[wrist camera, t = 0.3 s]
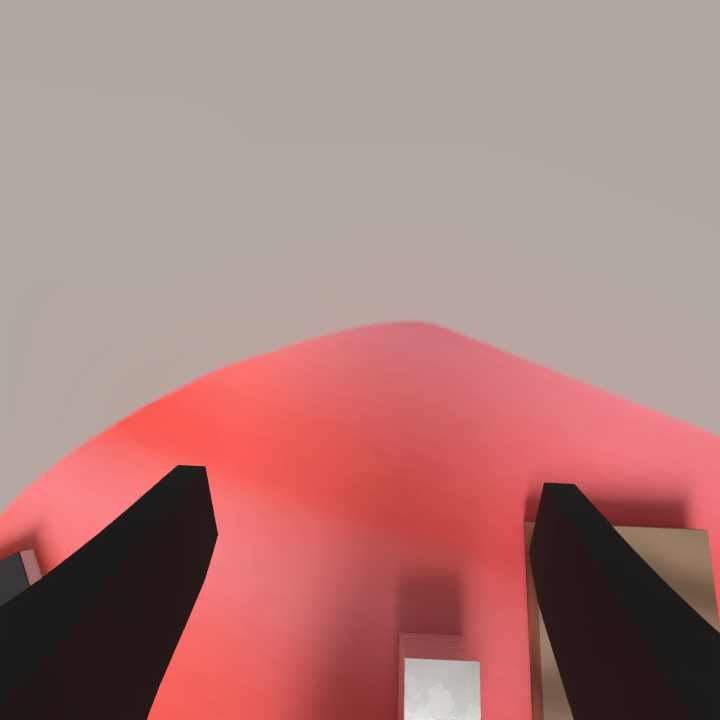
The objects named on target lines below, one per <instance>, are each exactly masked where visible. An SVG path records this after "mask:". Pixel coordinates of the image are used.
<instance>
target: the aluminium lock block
mask: <svg viewBox="0 0 720 720" xmlns="http://www.w3.org/2000/svg"><path fill="white" fill-rule="evenodd" d="M398 720H481V713H480V663H479V660H478V659H477V657H476V656H475V654H474V653H473V651H472V650H471V648H470V647H469V645H468V644H467V642H466V641H465V639H464V638H463V636H462V635H443V634H422V633H400V632H399V682H398Z"/></svg>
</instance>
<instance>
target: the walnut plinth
mask: <svg viewBox="0 0 720 720" xmlns="http://www.w3.org/2000/svg"><path fill="white" fill-rule="evenodd" d="M534 526H535V522H527V521H524V533H525V556H526V580H527V603H528V627H529V650H530V673H531V697H532V720H574V719H573V716H572V713H571V709H570V706H569V703H568V700H567V696H566V693H565V690H564V687H563V683H562V680H561V677H560V674H559V670H558V667H557V664H556V661H555V657H554V654H553V651H552V648H551V644H550V641H549V638H548V635H547V631H546V628H545V625H544V621H543V618H542V615H541V611H540V608H539V604H538V601H537V596H536V591H535V586H534V580H533V575H532V569H531V563H530V557H529V548H530V544H531V539H532V535H533V531H534ZM612 526H613V527H614V528H615V530H616V531H617V532H618V533H619V534H620V535H621V536H622V537H623V538H624V539H625V540H626V542H627V543H628V544H629V545H630V546H631V547H632V548H633V549H634V550H635V551H636V552H637V553H638V554H639V555H640V556H641V557H642V558H643V559H644V560H645V562H646V563H647V564H648V565H649V566H650V567H651V568H652V569H653V570H654V571H655V572H656V573H657V574H658V575H659V576H660V577H661V578H662V579H663V580H664V581H665V582H666V583H667V584H668V585H669V586H670V587H671V588H672V589H673V590H674V591H675V592H676V593H677V594H678V595H679V596H681V597H682V598H683V599H684V600H685V601H686V602H687V603H688V604H689V605H690V606H691V607H692V608H693V609H694V610H695V611H696V612H697V613H698V614H700V615H701V616H702V617H703V618H704V619H705V620H706V621H707V622H708V623H709V624H710V625H712V626H713V627H714V628H715V629H716V630H717V631H718V632H719V633H720V625H719V618H718V610H717V602H716V595H715V587H714V579H713V572H712V564H711V557H710V549H709V541H708V534H707V530H700V529H690V528H672V527H648V526H624V525H612Z"/></svg>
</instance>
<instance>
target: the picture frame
mask: <svg viewBox="0 0 720 720" xmlns="http://www.w3.org/2000/svg"><path fill="white" fill-rule="evenodd" d="M41 578H42V575H41V572H40V569H39V566H38V563H37V560H36V557H35V553H34V550H33V549H32V550H26V551H20V552H17V553H15V554H13V555H11V556H9V557H7V558H5V559H3V560H1V561H0V606H2V605H3V604H5V603H6V602H8V601H9V600H11V599H12V598H14V597H15V596H17V595H18V594H20V593H21V592H23V591H24V590H25V589H27V588H28V587H30V586H31V585H32V584H34V583H35V582H37V581H38V580H39V579H41Z"/></svg>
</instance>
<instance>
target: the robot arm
mask: <svg viewBox="0 0 720 720" xmlns="http://www.w3.org/2000/svg"><path fill="white" fill-rule="evenodd" d="M217 536H218V532H217V527H216V521H215V516H214V510H213V505H212V500H211V494H210V489H209V483H208V478H207V472H206V467H205V466H186V465H178V466H177V467H175V468H174V469H173V470H172V471H171V472H169V473H168V474H167V475H166V476H165V477H164V478H162V479H161V480H160V481H159V482H158V483H157V484H156V485H154V486H153V487H152V488H151V489H150V490H149V491H148V492H146V493H145V494H144V495H143V496H142V497H141V498H140V499H138V500H137V501H136V502H135V503H134V504H133V505H132V506H130V507H129V508H128V509H127V510H126V511H125V512H123V513H122V514H121V515H120V516H119V517H118V518H116V519H115V520H114V521H113V522H112V523H111V524H109V525H108V526H107V527H106V528H105V529H103V530H102V531H101V532H100V533H99V534H97V535H96V536H95V537H94V538H92V539H91V540H90V541H89V542H87V543H86V544H85V545H83V546H82V547H81V548H80V549H78V550H77V551H76V552H75V553H73V554H72V555H71V556H69V557H68V558H67V559H66V560H64V561H63V562H62V563H61V564H59V565H58V566H57V567H55V568H54V569H53V570H52V571H50V572H49V573H48V574H46V575H45V576H43V577H42V578H41V579H39V580H38V581H37V582H35V583H34V584H32V585H31V586H30V587H28V588H27V589H25V590H24V591H23V592H21V593H20V594H18V595H17V596H15V597H14V598H12V599H11V600H9V601H8V602H6V603H5V604H3V605H2V606H0V720H147V718H148V715H149V712H150V709H151V707H152V704H153V701H154V699H155V696H156V694H157V691H158V689H159V686H160V684H161V681H162V679H163V677H164V674H165V672H166V670H167V667H168V665H169V663H170V660H171V658H172V656H173V653H174V651H175V649H176V647H177V644H178V642H179V640H180V637H181V635H182V633H183V630H184V628H185V626H186V623H187V621H188V619H189V616H190V614H191V612H192V609H193V607H194V605H195V602H196V600H197V597H198V595H199V593H200V590H201V588H202V585H203V583H204V581H205V578H206V574H207V571H208V568H209V564H210V561H211V558H212V554H213V551H214V547H215V543H216V540H217ZM529 557H530V563H531V569H532V575H533V580H534V586H535V591H536V596H537V601H538V604H539V608H540V611H541V615H542V618H543V621H544V625H545V628H546V631H547V635H548V638H549V641H550V644H551V648H552V651H553V654H554V657H555V661H556V664H557V667H558V670H559V674H560V677H561V680H562V683H563V687H564V690H565V693H566V696H567V700H568V703H569V706H570V709H571V713H572V716H573V719H574V720H720V633H719V632H718V631H717V630H716V629H715V628H714V627H713V626H712V625H710V624H709V623H708V622H707V621H706V620H705V619H704V618H703V617H702V616H701V615H700V614H698V613H697V612H696V611H695V610H694V609H693V608H692V607H691V606H690V605H689V604H688V603H687V602H686V601H685V600H684V599H683V598H682V597H681V596H679V595H678V594H677V593H676V592H675V591H674V590H673V589H672V588H671V587H670V586H669V585H668V584H667V583H666V582H665V581H664V580H663V579H662V578H661V577H660V576H659V575H658V574H657V573H656V572H655V571H654V570H653V569H652V568H651V567H650V566H649V565H648V564H647V563H646V562H645V560H644V559H643V558H642V557H641V556H640V555H639V554H638V553H637V552H636V551H635V550H634V549H633V548H632V547H631V546H630V545H629V544H628V543H627V542H626V540H625V539H624V538H623V537H622V536H621V535H620V534H619V533H618V532H617V531H616V530H615V528H614V527H613V526H612V525H611V524H610V523H609V522H608V521H607V520H606V519H605V517H604V516H603V515H602V514H601V513H600V512H599V511H598V510H597V509H596V507H595V506H594V505H593V504H592V503H591V502H590V501H589V500H588V499H587V497H586V496H585V495H584V494H583V493H582V492H581V491H580V490H579V489H578V488H577V486H576V485H575V484H562V483H544V486H543V490H542V495H541V499H540V504H539V508H538V513H537V517H536V522H535V526H534V531H533V535H532V539H531V544H530V548H529Z"/></svg>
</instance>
